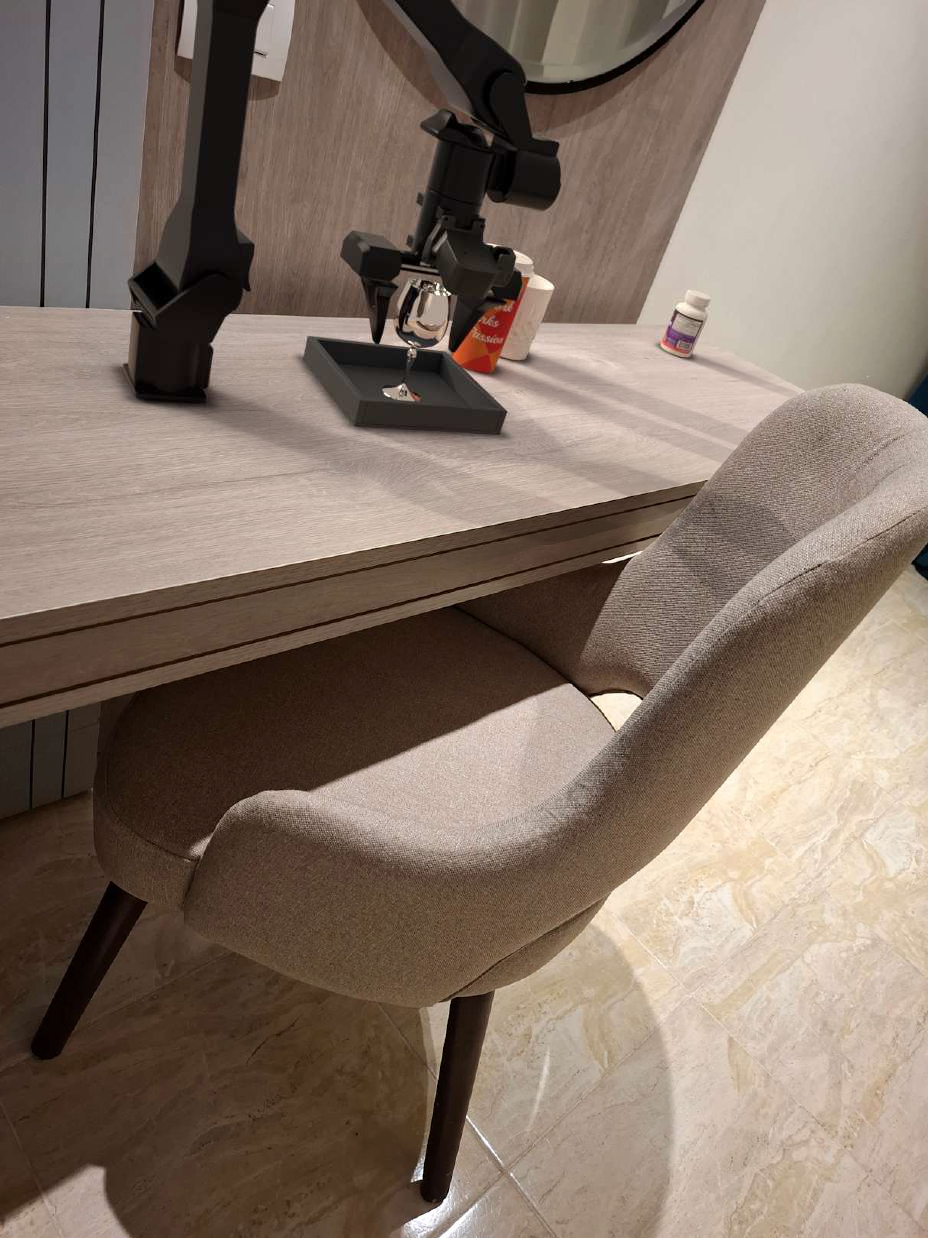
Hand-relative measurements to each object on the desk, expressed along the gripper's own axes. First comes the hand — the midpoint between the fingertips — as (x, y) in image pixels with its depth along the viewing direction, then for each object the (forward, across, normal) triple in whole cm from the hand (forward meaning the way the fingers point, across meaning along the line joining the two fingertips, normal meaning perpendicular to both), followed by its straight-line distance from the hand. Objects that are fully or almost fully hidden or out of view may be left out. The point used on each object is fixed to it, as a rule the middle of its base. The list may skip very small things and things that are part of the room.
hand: (414, 346), depth 97 cm
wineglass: (+6, 0, 0) cm, 6 cm away
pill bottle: (+6, +64, +27) cm, 70 cm away
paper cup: (+6, +16, +12) cm, 21 cm away
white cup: (+6, +24, +18) cm, 31 cm away
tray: (+6, 0, 0) cm, 6 cm away
